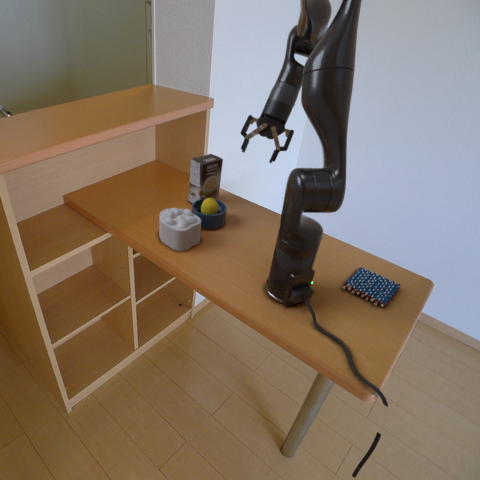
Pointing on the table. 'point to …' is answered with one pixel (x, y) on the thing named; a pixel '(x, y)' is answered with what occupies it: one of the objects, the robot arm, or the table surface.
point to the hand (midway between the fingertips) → (256, 157)
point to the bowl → (210, 220)
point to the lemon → (209, 207)
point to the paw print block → (179, 228)
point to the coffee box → (205, 177)
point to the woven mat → (371, 286)
